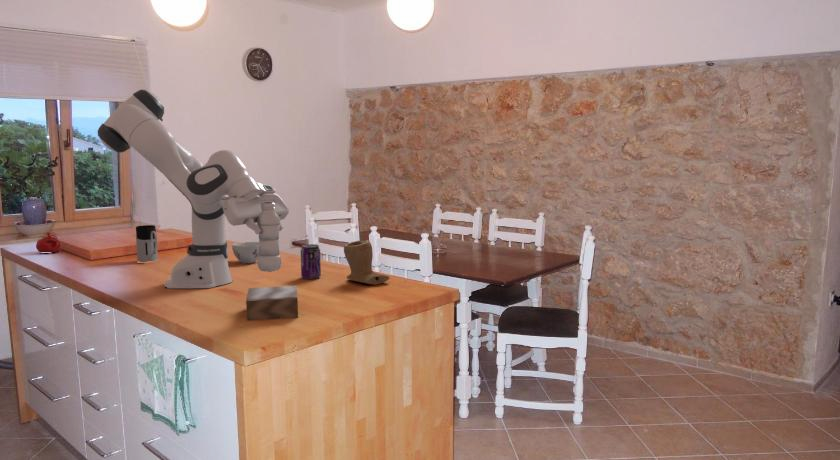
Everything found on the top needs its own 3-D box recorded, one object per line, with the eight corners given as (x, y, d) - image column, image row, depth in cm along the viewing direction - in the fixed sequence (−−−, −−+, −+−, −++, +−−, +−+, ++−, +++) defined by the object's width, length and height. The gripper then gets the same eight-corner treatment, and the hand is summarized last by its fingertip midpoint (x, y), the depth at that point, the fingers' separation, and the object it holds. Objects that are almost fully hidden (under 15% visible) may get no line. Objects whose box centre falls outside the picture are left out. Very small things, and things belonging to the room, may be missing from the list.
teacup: (270, 261, 257) (269, 242, 256) (246, 266, 247) (245, 247, 245) (246, 257, 265) (245, 239, 264) (222, 262, 255) (221, 243, 254)
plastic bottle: (260, 269, 180) (257, 201, 177) (283, 269, 180) (281, 201, 178) (255, 273, 174) (253, 203, 171) (279, 273, 174) (277, 203, 171)
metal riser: (247, 320, 171) (246, 299, 170) (249, 307, 184) (248, 288, 184) (298, 317, 174) (297, 296, 173) (296, 304, 187) (296, 285, 187)
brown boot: (337, 281, 219) (337, 240, 217) (364, 276, 227) (363, 236, 225) (363, 288, 208) (362, 245, 206) (390, 283, 216) (390, 241, 214)
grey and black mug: (154, 259, 263) (151, 224, 261) (168, 263, 253) (166, 227, 251) (133, 261, 257) (130, 226, 255) (146, 266, 247) (144, 229, 245)
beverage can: (316, 280, 221) (315, 247, 220) (298, 279, 223) (297, 246, 221) (323, 276, 228) (322, 244, 227) (305, 275, 230) (304, 243, 228)
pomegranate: (31, 254, 275) (29, 234, 274) (48, 250, 285) (46, 231, 284) (51, 255, 274) (48, 234, 272) (67, 250, 283) (65, 231, 282)
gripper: (221, 190, 169) (245, 228, 165) (277, 186, 186) (301, 220, 182) (212, 205, 173) (235, 242, 168) (268, 200, 189) (291, 234, 185)
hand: (270, 231), depth 175 cm, fingers closed on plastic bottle, 6 cm apart
